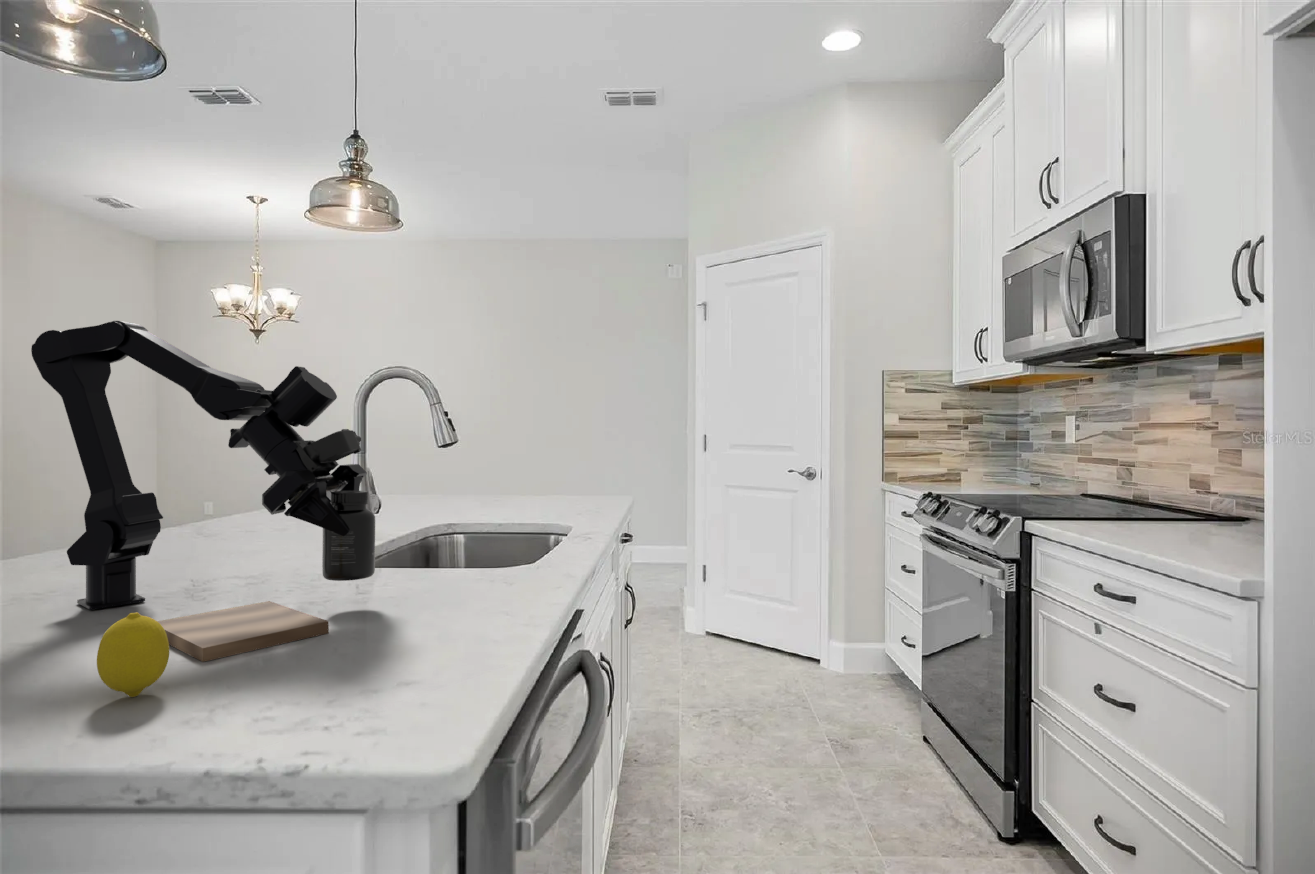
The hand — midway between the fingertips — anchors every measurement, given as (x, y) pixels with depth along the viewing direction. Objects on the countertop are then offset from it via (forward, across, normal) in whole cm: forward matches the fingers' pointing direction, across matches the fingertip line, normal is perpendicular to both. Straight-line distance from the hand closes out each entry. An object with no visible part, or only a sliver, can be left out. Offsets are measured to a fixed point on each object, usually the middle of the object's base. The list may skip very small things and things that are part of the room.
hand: (359, 529), depth 101 cm
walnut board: (+2, -13, +14) cm, 19 cm away
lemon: (+4, -34, +12) cm, 36 cm away
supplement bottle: (+4, 0, +6) cm, 7 cm away
